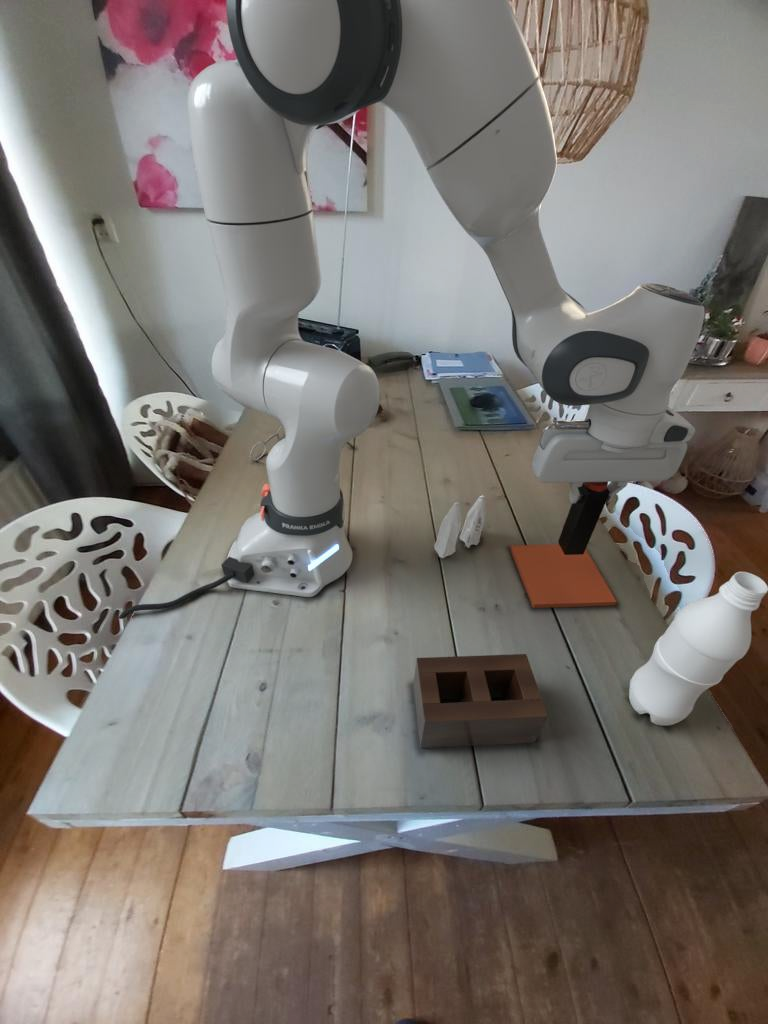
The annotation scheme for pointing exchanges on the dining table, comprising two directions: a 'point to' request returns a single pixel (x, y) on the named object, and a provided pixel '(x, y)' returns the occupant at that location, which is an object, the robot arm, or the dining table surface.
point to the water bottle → (697, 650)
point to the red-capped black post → (583, 518)
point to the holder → (477, 701)
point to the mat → (560, 577)
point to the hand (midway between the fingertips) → (589, 500)
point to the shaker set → (452, 527)
